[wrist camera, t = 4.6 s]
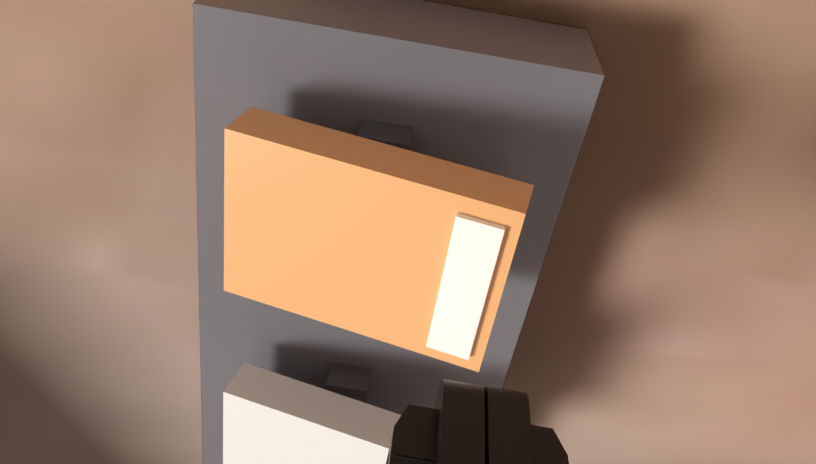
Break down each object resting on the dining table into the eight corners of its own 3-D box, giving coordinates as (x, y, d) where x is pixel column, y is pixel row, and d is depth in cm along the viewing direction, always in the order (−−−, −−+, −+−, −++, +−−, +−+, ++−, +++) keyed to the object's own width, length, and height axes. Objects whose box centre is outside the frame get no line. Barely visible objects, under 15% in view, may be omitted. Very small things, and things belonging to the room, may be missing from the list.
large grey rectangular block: (231, -34, 18) (178, 16, 15) (586, 29, 18) (611, 92, 15) (227, 400, 27) (194, 490, 24) (463, 438, 27) (461, 532, 24)
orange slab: (250, 106, 16) (220, 131, 15) (534, 185, 15) (524, 217, 14) (246, 262, 18) (220, 294, 17) (488, 338, 17) (477, 377, 16)
